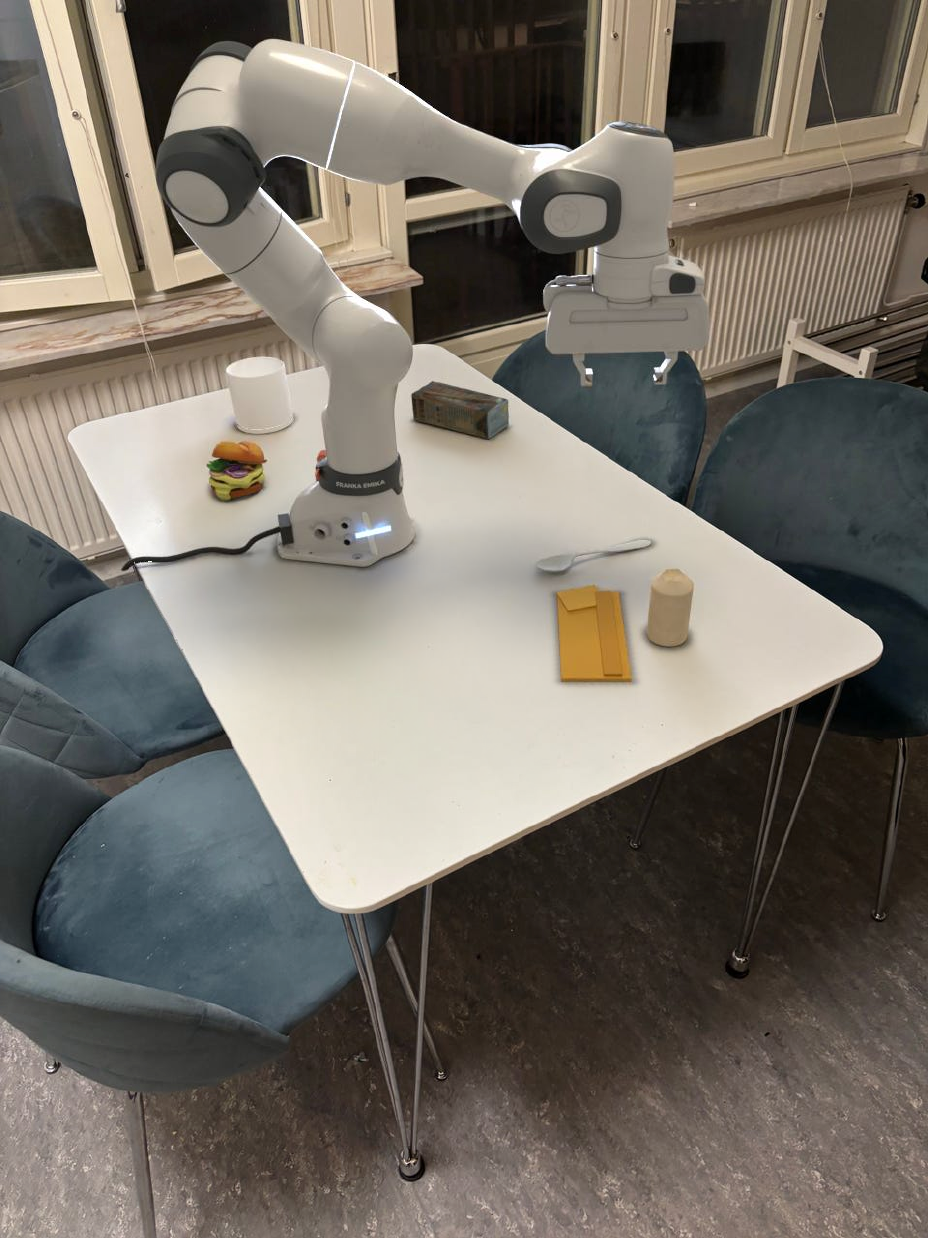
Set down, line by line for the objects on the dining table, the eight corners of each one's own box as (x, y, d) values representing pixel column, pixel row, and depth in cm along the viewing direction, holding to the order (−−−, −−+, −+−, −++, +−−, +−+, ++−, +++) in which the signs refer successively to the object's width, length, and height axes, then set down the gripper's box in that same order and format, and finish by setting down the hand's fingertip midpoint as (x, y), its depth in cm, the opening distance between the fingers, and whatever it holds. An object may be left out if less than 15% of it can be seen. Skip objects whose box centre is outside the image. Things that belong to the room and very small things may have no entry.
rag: (560, 681, 118) (560, 675, 118) (555, 589, 135) (556, 584, 135) (631, 681, 117) (631, 676, 117) (617, 589, 135) (617, 584, 134)
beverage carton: (488, 441, 178) (487, 409, 174) (410, 421, 187) (408, 391, 183) (510, 426, 183) (509, 395, 179) (433, 408, 192) (431, 378, 188)
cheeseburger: (196, 498, 163) (192, 442, 159) (232, 485, 172) (228, 432, 169) (244, 505, 160) (240, 449, 156) (277, 492, 169) (275, 438, 165)
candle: (687, 648, 122) (695, 587, 117) (645, 645, 123) (651, 584, 118) (687, 625, 127) (695, 564, 121) (647, 621, 128) (653, 561, 122)
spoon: (528, 567, 140) (528, 558, 139) (643, 536, 146) (643, 527, 145) (540, 580, 137) (540, 571, 136) (657, 548, 143) (658, 539, 142)
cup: (239, 413, 194) (228, 358, 187) (294, 408, 195) (285, 354, 188) (234, 436, 185) (222, 379, 178) (291, 431, 186) (282, 374, 178)
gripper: (543, 283, 108) (542, 394, 116) (718, 278, 107) (705, 391, 115) (543, 269, 113) (542, 376, 121) (709, 264, 112) (697, 373, 120)
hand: (622, 383), depth 118 cm, fingers open, 8 cm apart
